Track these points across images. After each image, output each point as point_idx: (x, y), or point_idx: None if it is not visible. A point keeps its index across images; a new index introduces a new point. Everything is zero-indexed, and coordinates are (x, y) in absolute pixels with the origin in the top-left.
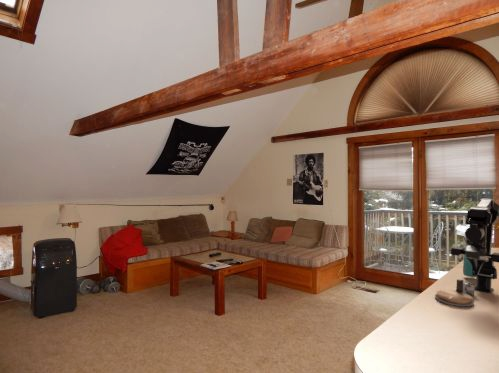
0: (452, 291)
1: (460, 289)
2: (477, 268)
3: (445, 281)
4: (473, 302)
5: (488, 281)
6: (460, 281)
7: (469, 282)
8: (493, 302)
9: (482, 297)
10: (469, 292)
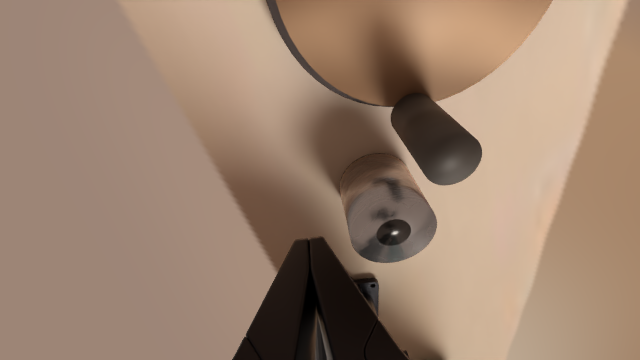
0: (456, 65)
1: (410, 106)
2: (286, 316)
3: (510, 279)
4: (271, 4)
5: (321, 345)
6: (441, 135)
7: (392, 260)
8: (225, 175)
9: (300, 205)
10: (361, 174)
